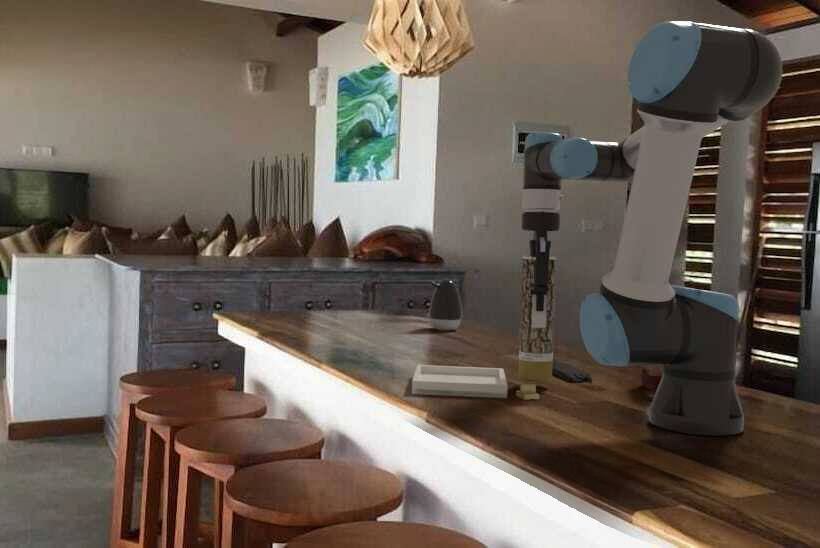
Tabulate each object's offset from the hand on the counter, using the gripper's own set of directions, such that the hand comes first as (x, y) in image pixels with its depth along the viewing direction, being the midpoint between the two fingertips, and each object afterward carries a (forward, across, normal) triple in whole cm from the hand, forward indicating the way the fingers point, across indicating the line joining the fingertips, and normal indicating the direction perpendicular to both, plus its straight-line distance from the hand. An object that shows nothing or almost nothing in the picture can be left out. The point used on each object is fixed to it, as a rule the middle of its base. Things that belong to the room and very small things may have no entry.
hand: (536, 325), depth 173 cm
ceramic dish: (+13, -4, +15) cm, 20 cm away
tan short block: (+13, -10, +2) cm, 17 cm away
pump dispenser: (+11, +84, +20) cm, 87 cm away
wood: (+13, +17, -8) cm, 23 cm away
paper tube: (+11, 0, 0) cm, 11 cm away
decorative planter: (+13, +4, -28) cm, 31 cm away
